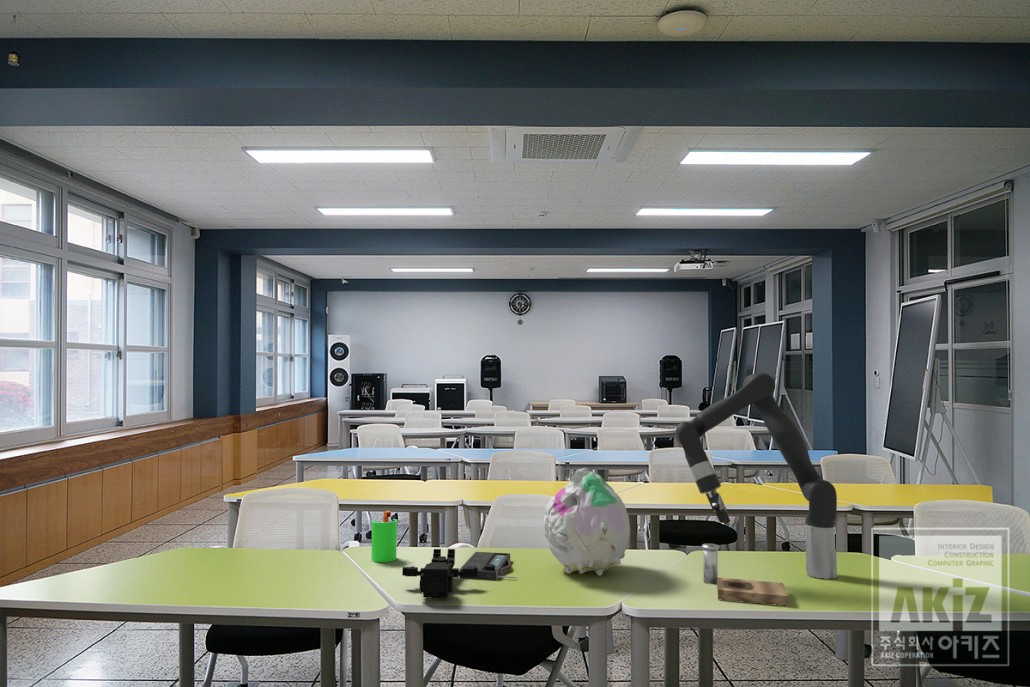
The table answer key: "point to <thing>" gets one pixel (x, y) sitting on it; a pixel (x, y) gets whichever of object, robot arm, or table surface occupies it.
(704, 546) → the silver metal peg
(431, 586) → the toy
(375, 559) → the green pencil cup
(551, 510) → the sculpture
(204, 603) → the table surface
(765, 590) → the block
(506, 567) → the radio
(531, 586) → the table surface
